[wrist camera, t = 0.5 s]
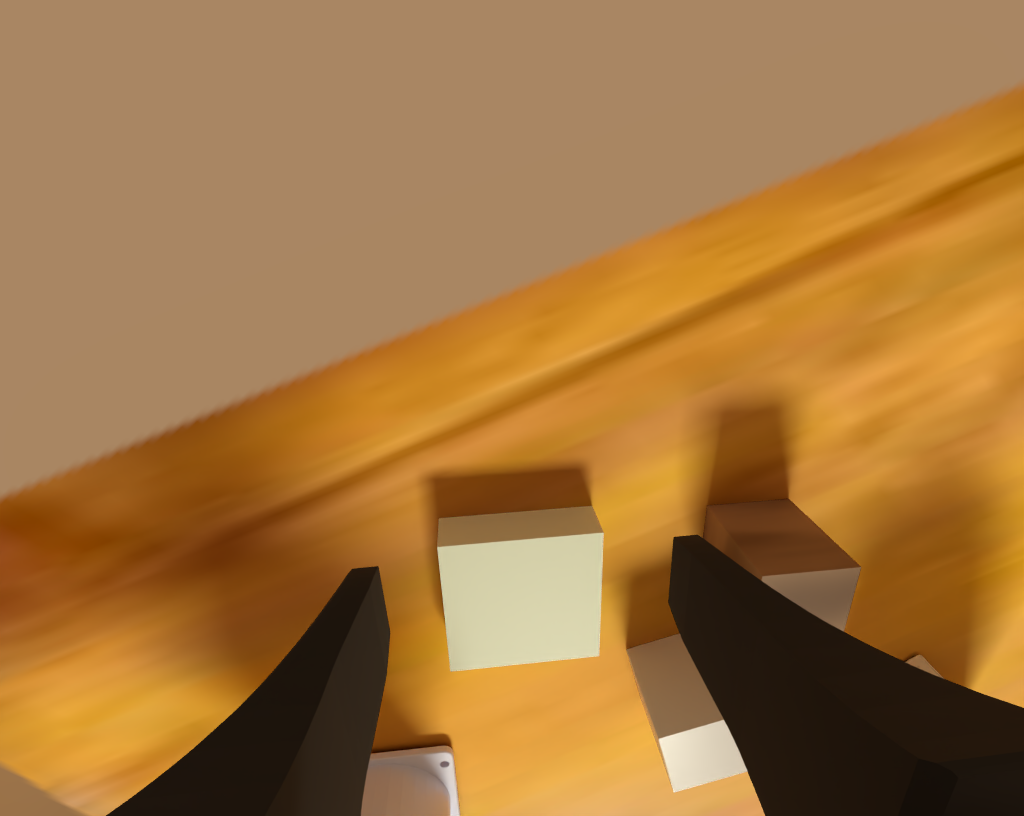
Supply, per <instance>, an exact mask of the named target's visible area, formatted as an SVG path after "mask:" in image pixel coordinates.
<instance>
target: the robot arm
mask: <svg viewBox="0 0 1024 816" xmlns="http://www.w3.org/2000/svg"><path fill="white" fill-rule="evenodd" d="M668 603H669V606H670V608H671V611H672V614H673V617H674V620H675V622H676V625H677V628H678V630H679V633H680V635H681V638H682V640H683V643H684V645H685V647H686V649H687V650H688V652H689V654H690V656H691V658H692V660H693V662H694V664H695V666H696V668H697V670H698V672H699V674H700V676H701V677H702V679H703V681H704V683H705V685H706V687H707V689H708V691H709V693H710V695H711V696H712V698H713V700H714V702H715V704H716V706H717V708H718V710H719V712H720V714H721V715H722V717H723V719H724V721H725V723H726V725H727V727H728V729H729V731H730V733H731V735H732V737H733V739H734V741H735V743H736V745H737V748H738V750H739V752H740V754H741V757H742V759H743V762H744V764H745V767H746V769H747V771H748V774H749V776H750V779H751V781H752V783H753V786H754V788H755V791H756V793H757V796H758V798H759V801H760V803H761V806H762V808H763V811H764V814H765V816H1024V708H1022V707H1019V706H1016V705H1013V704H1010V703H1008V702H1005V701H1002V700H999V699H996V698H993V697H990V696H987V695H984V694H981V693H979V692H976V691H973V690H971V689H968V688H966V687H963V686H961V685H958V684H956V683H953V682H951V681H948V680H946V679H943V678H940V677H938V676H936V675H933V674H931V673H929V672H926V671H924V670H922V669H919V668H917V667H915V666H912V665H910V664H908V663H906V662H904V661H901V660H899V659H897V658H895V657H893V656H891V655H889V654H886V653H884V652H882V651H880V650H878V649H876V648H874V647H872V646H870V645H868V644H866V643H864V642H862V641H860V640H858V639H856V638H854V637H852V636H851V635H849V634H847V633H845V632H843V631H842V630H840V629H838V628H836V627H834V626H832V625H831V624H829V623H827V622H825V621H823V620H822V619H820V618H818V617H817V616H815V615H813V614H812V613H810V612H808V611H807V610H805V609H804V608H802V607H801V606H799V605H797V604H796V603H794V602H793V601H791V600H789V599H788V598H786V597H785V596H783V595H782V594H780V593H779V592H777V591H776V590H774V589H773V588H771V587H770V586H768V585H767V584H766V583H764V582H763V581H761V580H760V579H758V578H757V577H756V576H754V575H753V574H751V573H750V572H749V571H747V570H746V569H744V568H743V567H742V566H740V565H739V564H738V563H736V562H735V561H733V560H732V559H731V558H729V557H728V556H727V555H725V554H724V553H723V552H721V551H720V550H719V549H717V548H716V547H714V546H713V545H712V544H710V543H709V542H708V541H706V540H705V539H703V538H702V537H700V536H699V535H690V536H679V537H674V539H673V551H672V564H671V576H670V588H669V600H668ZM389 641H390V628H389V623H388V617H387V612H386V606H385V600H384V595H383V589H382V584H381V578H380V573H379V567H378V566H376V567H366V568H356V569H352V570H351V571H350V572H349V573H348V575H347V576H346V577H345V579H344V580H343V582H342V583H341V585H340V586H339V588H338V589H337V590H336V592H335V593H334V595H333V596H332V598H331V599H330V600H329V602H328V603H327V604H326V606H325V607H324V609H323V610H322V611H321V613H320V614H319V615H318V617H317V618H316V619H315V621H314V622H313V623H312V624H311V626H310V627H309V628H308V630H307V631H306V632H305V634H304V635H303V636H302V637H301V639H300V640H299V641H298V642H297V644H296V645H295V646H294V647H293V648H292V650H291V651H290V652H289V653H288V654H287V656H286V657H285V658H284V659H283V660H282V661H281V663H280V664H279V665H278V666H277V667H276V669H275V670H274V671H273V672H272V673H271V674H270V675H269V676H268V677H267V679H266V680H265V681H264V682H263V683H262V684H261V685H260V686H259V687H258V688H257V689H256V690H255V691H254V692H253V693H252V694H251V695H250V697H249V698H248V699H247V700H246V701H245V702H244V703H243V704H242V705H241V706H240V707H239V708H238V709H237V710H236V711H235V712H233V713H232V714H231V715H230V716H229V717H228V718H227V719H226V720H225V721H224V722H223V723H221V724H220V725H219V726H218V727H217V728H216V729H215V730H214V731H213V732H211V733H210V734H209V735H208V736H207V737H206V738H205V739H204V740H203V741H201V742H200V743H199V744H198V745H197V746H196V747H195V748H194V749H192V750H191V751H190V752H189V753H188V754H186V755H185V756H184V757H183V758H181V759H180V760H179V761H178V762H177V763H175V764H174V765H173V766H172V767H170V768H169V769H168V770H167V771H165V772H164V773H163V774H162V775H160V776H159V777H158V778H156V779H155V780H154V781H153V782H151V783H150V784H149V785H147V786H146V787H145V788H144V789H142V790H141V791H140V792H138V793H137V794H136V795H134V796H133V797H132V798H130V799H129V800H128V801H126V802H125V803H123V804H122V805H120V806H119V807H118V808H116V809H115V810H113V811H112V812H110V813H109V814H108V815H106V816H460V808H459V799H458V790H457V781H456V772H455V763H454V754H453V750H452V748H451V747H449V746H435V747H426V748H417V749H408V750H399V751H390V752H381V753H372V754H371V750H372V745H373V740H374V735H375V731H376V726H377V721H378V716H379V711H380V706H381V701H382V696H383V691H384V686H385V681H386V675H387V665H388V654H389Z"/></svg>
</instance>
